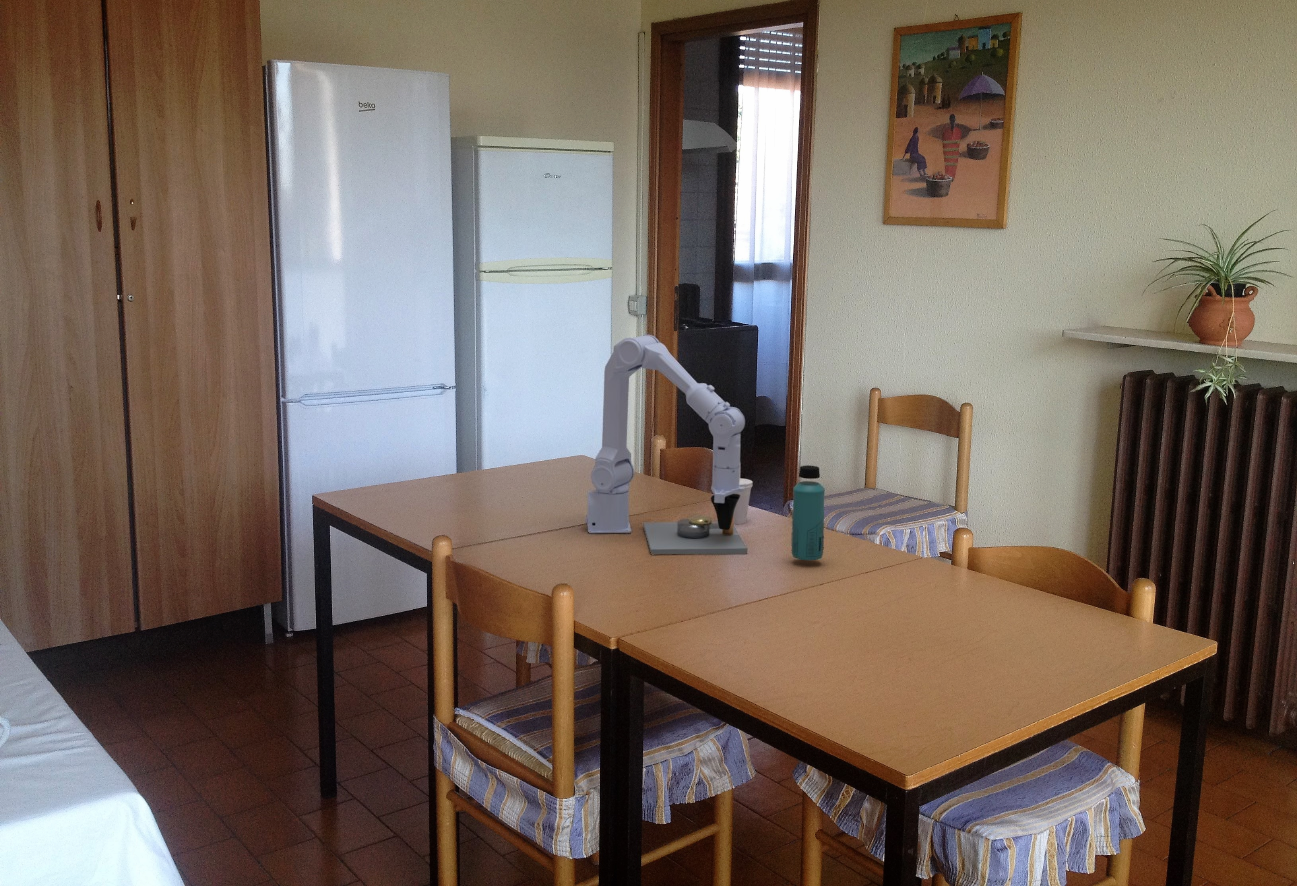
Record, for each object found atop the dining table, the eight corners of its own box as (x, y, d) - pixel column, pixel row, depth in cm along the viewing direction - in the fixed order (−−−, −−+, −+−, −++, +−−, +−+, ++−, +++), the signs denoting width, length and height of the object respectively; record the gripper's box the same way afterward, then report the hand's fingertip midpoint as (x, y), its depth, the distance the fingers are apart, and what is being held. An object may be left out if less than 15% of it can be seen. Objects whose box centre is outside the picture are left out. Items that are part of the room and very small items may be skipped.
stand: (651, 555, 239) (651, 548, 239) (643, 527, 261) (643, 522, 260) (747, 553, 241) (747, 547, 240) (731, 526, 262) (731, 521, 262)
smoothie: (751, 519, 269) (753, 460, 266) (751, 526, 263) (753, 465, 260) (724, 518, 270) (725, 459, 267) (723, 525, 263) (724, 465, 261)
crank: (678, 538, 247) (679, 517, 246) (675, 529, 253) (675, 509, 253) (735, 537, 247) (736, 517, 247) (730, 529, 254) (731, 509, 254)
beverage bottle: (822, 568, 231) (826, 470, 227) (788, 566, 232) (792, 468, 228) (824, 559, 237) (827, 463, 233) (791, 557, 238) (794, 462, 235)
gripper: (739, 474, 236) (737, 538, 238) (750, 460, 250) (749, 521, 252) (705, 472, 238) (703, 536, 240) (718, 458, 252) (717, 519, 254)
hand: (724, 528), depth 246 cm, fingers closed
